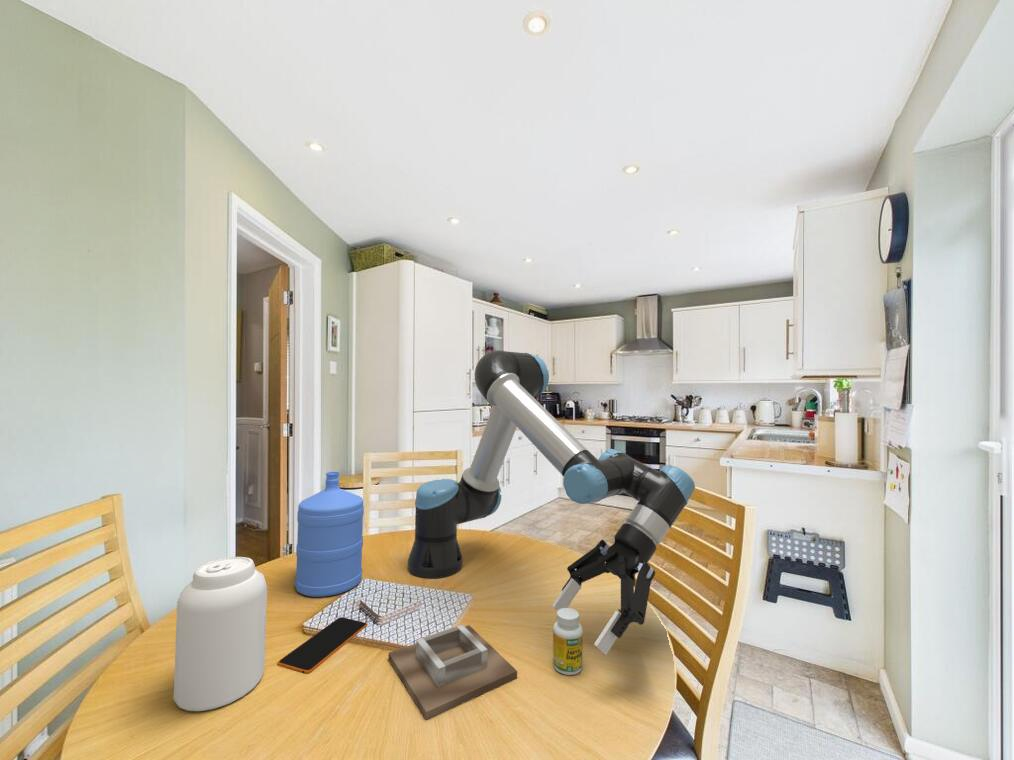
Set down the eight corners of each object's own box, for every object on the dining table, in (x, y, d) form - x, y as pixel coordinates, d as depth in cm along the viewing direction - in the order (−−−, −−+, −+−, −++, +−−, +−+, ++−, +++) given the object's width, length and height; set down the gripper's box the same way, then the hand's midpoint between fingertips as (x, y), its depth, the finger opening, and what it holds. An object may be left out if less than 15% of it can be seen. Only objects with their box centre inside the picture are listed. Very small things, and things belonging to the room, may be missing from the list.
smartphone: (368, 626, 89) (369, 622, 89) (308, 677, 73) (308, 672, 73) (339, 619, 91) (339, 615, 91) (275, 667, 75) (275, 662, 75)
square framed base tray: (388, 659, 77) (389, 636, 77) (468, 630, 87) (469, 610, 87) (426, 720, 63) (426, 691, 63) (517, 677, 73) (517, 653, 73)
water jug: (370, 587, 105) (373, 475, 106) (302, 605, 96) (306, 482, 96) (351, 565, 118) (354, 465, 118) (289, 580, 108) (292, 471, 109)
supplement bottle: (568, 653, 80) (569, 602, 80) (588, 669, 76) (589, 615, 76) (546, 663, 77) (547, 610, 77) (566, 680, 73) (566, 624, 73)
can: (163, 725, 61) (168, 587, 62) (182, 673, 73) (186, 557, 73) (262, 698, 67) (266, 572, 68) (265, 653, 78) (269, 545, 79)
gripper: (703, 570, 73) (635, 683, 66) (610, 527, 95) (553, 607, 89) (681, 544, 71) (609, 657, 64) (591, 506, 93) (531, 586, 87)
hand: (576, 628), depth 76 cm, fingers open, 13 cm apart
